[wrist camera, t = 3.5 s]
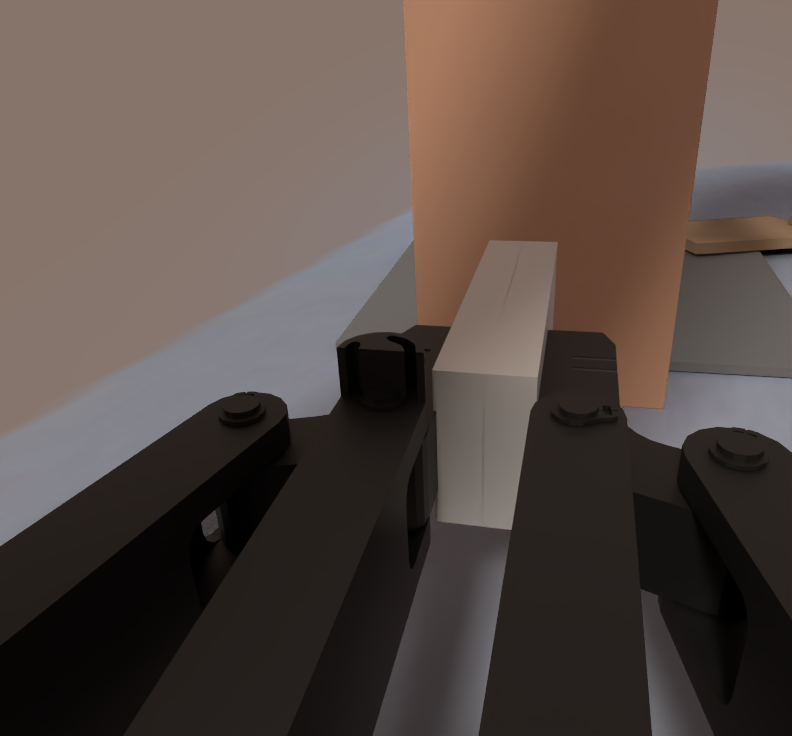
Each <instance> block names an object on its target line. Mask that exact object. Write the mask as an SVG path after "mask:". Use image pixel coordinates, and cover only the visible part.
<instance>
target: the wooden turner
mask: <svg viewBox="0 0 792 736" xmlns="http://www.w3.org/2000/svg"><path fill="white" fill-rule="evenodd" d="M788 248H792V216H791V218H790V219H789V221H787V220H784V219H780V218H777V217H773V216H762V217H746V218H729V219H713V220H696V221H689V223H688V230H687V237H686V245H685V249H686V250H688V251H690V252H692V253H694V254H711V253H726V252H742V251H757V250H773V249H788Z"/></svg>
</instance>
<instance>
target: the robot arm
mask: <svg viewBox="0 0 792 736" xmlns="http://www.w3.org/2000/svg"><path fill="white" fill-rule="evenodd" d="M557 245H558V242H540V241H496V240H489V243H488V245H487V247H486V250H485V252H484V254H483V256H482V259H481V261H480V263H479V265H478V268H477V270H476V272H475V274H474V277H473V279H472V281H471V283H470V286H469V288H468V290H467V292H466V295H465V297H464V299H463V301H462V304H461V306H460V308H459V310H458V313H457V315H456V317H455V320H454V322H453V324H452V326H451V327H448V326H429V325H415V326H413V327H411V328H410V329H408V330H406V331H405V332H403V333H395V332H373V333H368V334H363V335H358V336H355V337H353V338H350V339H348V340H345V341H344V342H343V343H341V344H340V345H339V346H338V347H337V357H338V367H339V378H340V389H341V397H340V399H339V400H338V402H337V404H336V405H335V407H334V408H333V410H332V411H331V413H330V414H329V415H323V416H316V417H306V418H296V419H289V417H288V410H287V405H286V404H285V402H284V401H283V400H282V399H281V398H279V397H277V396H274V395H271V394H267V393H258V392H247V393H245V392H241V393H236V394H234V395H232V396H228V397H225V398H222V399H220V400H218V401H216V402H214V403H212V404H210V405H208V406H207V407H205V408H204V409H202V410H201V411H199V412H198V413H196V414H195V415H193V416H192V417H190V418H189V419H187V420H186V421H184V422H183V423H181V424H180V425H179V426H177V427H176V428H174V429H173V430H171V431H170V432H168V433H167V434H165V435H164V436H162V437H161V438H159V439H158V440H156V441H155V442H153V443H152V444H150V445H149V446H148V447H146V448H145V449H143V450H142V451H140V452H139V453H137V454H136V455H134V456H133V457H131V458H130V459H128V460H127V461H125V462H124V463H122V464H121V465H120V466H118V467H117V468H115V469H114V470H112V471H111V472H109V473H108V474H106V475H105V476H103V477H102V478H100V479H99V480H97V481H96V482H94V483H93V484H92V485H90V486H89V487H87V488H86V489H84V490H83V491H81V492H80V493H78V494H77V495H75V496H74V497H72V498H71V499H69V500H68V501H66V502H65V503H64V504H62V505H61V506H59V507H58V508H56V509H55V510H53V511H52V512H50V513H49V514H47V515H46V516H44V517H43V518H41V519H40V520H38V521H37V522H36V523H34V524H33V525H31V526H30V527H28V528H27V529H25V530H24V531H22V532H21V533H19V534H18V535H16V536H15V537H13V538H12V539H10V540H9V541H8V542H6V543H5V544H3V545H2V546H0V736H372V735H373V732H374V728H375V725H376V722H377V718H378V715H379V712H380V708H381V705H382V702H383V698H384V695H385V692H386V688H387V685H388V682H389V678H390V675H391V672H392V668H393V665H394V662H395V658H396V655H397V652H398V648H399V645H400V641H401V638H402V635H403V631H404V628H405V625H406V621H407V618H408V615H409V611H410V608H411V605H412V601H413V598H414V595H415V591H416V588H417V585H418V581H419V578H420V575H421V571H422V568H423V565H424V561H425V558H426V555H427V551H428V548H429V545H430V513H431V510H432V507H433V503H434V500H435V497H436V521H440V522H448V523H456V524H465V525H473V526H481V527H490V528H498V529H506V530H511V536H510V542H509V548H508V555H507V561H506V567H505V574H504V580H503V586H502V592H501V599H500V605H499V611H498V617H497V624H496V630H495V636H494V643H493V649H492V655H491V661H490V668H489V674H488V680H487V687H486V693H485V699H484V705H483V712H482V718H481V724H480V731H479V736H652V730H651V717H650V705H649V692H648V679H647V667H646V654H645V641H644V629H643V616H642V604H641V591H640V589H643V590H645V591H648V592H651V593H653V594H656V595H658V601H659V607H660V612H661V614H662V617H663V619H664V621H665V623H666V626H667V628H668V630H669V633H670V635H671V637H672V639H673V642H674V644H675V646H676V649H677V651H678V653H679V655H680V658H681V660H682V662H683V665H684V667H685V669H686V672H687V674H688V676H689V678H690V681H691V683H692V685H693V688H694V690H695V692H696V694H697V697H698V699H699V701H700V704H701V706H702V708H703V710H704V713H705V715H706V717H707V720H708V722H709V724H710V726H711V729H712V731H713V733H714V736H792V452H790V451H789V450H788V449H787V448H785V447H784V446H783V445H781V444H780V443H779V442H777V441H775V440H773V439H771V438H768V437H766V436H764V435H762V434H760V433H758V432H754V431H751V430H745V429H742V428H736V427H732V428H724V427H715V428H708V429H701V430H698V431H696V432H694V433H692V434H690V435H689V436H687V438H686V440H685V441H684V443H683V445H682V449H679V448H675V447H671V446H667V445H664V444H661V443H658V442H655V441H652V440H649V439H647V438H645V437H643V436H641V435H639V434H637V433H636V432H635V431H633V430H632V429H631V428H629V427H628V426H627V418H626V415H625V413H624V411H623V409H622V408H620V399H619V385H618V372H617V361H616V360H617V357H616V345H615V344H614V343H613V342H612V341H611V340H610V339H609V338H608V337H607V336H606V335H605V334H604V333H601V332H582V331H563V330H553V316H554V299H555V281H556V263H557ZM214 510H216V515H217V520H218V525H219V528H218V529H216V530H215V531H214V532H213V533H212V534H211V535H209V536H207V537H205V536H204V534H203V531H202V526H201V522H202V521H203V520H204V519H205V518H206V517H207V516H208V515H209V514H211V513H212V512H213V511H214Z"/></svg>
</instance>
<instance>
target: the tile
mask: <svg viewBox="0 0 792 736" xmlns="http://www.w3.org/2000/svg"><path fill="white" fill-rule="evenodd" d="M717 7H718V0H404V23H405V46H406V69H407V92H408V115H409V138H410V158H411V159H410V160H411V182H412V183H411V184H412V207H413V230H414V253H415V276H416V299H417V322H418V325H429V326H448V327H451V326H452V324H453V322H454V320H455V317H456V315H457V313H458V310H459V308H460V306H461V304H462V301H463V299H464V297H465V295H466V292H467V290H468V288H469V286H470V283H471V281H472V279H473V277H474V274H475V272H476V270H477V268H478V265H479V263H480V261H481V259H482V256H483V254H484V252H485V250H486V247H487V245H488V243H489V240H496V241H540V242H558V245H557V263H556V281H555V299H554V316H553V330H563V331H582V332H601V333H604V334H605V335H606V336H607V337H608V338H609V339H610V340H611V341H612V342H613V343H614V344H615V345H616V357H617V360H616V361H617V372H618V385H619V399H620V406H627V407H641V408H656V409H664V401H665V394H666V386H667V379H668V371H669V364H670V357H671V349H672V342H673V334H674V327H675V319H676V312H677V304H678V297H679V290H680V282H681V275H682V267H683V260H684V252H685V245H686V237H687V230H688V223H689V215H690V208H691V200H692V193H693V185H694V178H695V170H696V163H697V156H698V148H699V141H700V133H701V126H702V118H703V111H704V103H705V96H706V89H707V81H708V74H709V66H710V58H711V51H712V44H713V36H714V29H715V22H716V14H717Z"/></svg>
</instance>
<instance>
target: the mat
mask: <svg viewBox="0 0 792 736" xmlns="http://www.w3.org/2000/svg"><path fill="white" fill-rule="evenodd" d="M415 325H418V322H417V299H416V276H415V253H414V241H413V242H412V243H411V245H410V246H409V247H408V248H407V250H406V251H405V252H404V254H403V255H402V256H401V258H400V259H399V260H398V262H397V263H396V264H395V266H394V267H393V268H392V270H391V271H390V272H389V273H388V275H387V276H386V277H385V279H384V280H383V281H382V283H381V284H380V285H379V287H378V288H377V289H376V291H375V292H374V293H373V294H372V296H371V297H370V298H369V300H368V301H367V302H366V304H365V305H364V306H363V308H362V309H361V310H360V312H359V313H358V314H357V316H356V317H355V318H354V319H353V321H352V322H351V323H350V325H349V326H348V327H347V329H346V330H345V331H344V333H343V334H342V335H341V337H340V338H339V339H338V340H337V342H336V350H337V347H338V346H339V345H340V344H341V343H343V342H344V341H345V340H348V339H350V338H353V337H355V336H358V335H363V334H368V333H373V332H395V333H403V332H405V331H406V330H408V329H410V328H411V327H413V326H415ZM669 371H686V372H703V373H720V374H737V375H754V376H771V377H788V378H792V298H791V297H790V295H789V294H788V292H787V291H786V289H785V288H784V286H783V285H782V283H781V282H780V281H779V279H778V278H777V276H776V275H775V273H774V272H773V270H772V269H771V267H770V266H769V264H768V263H767V261H766V260H765V259H764V257H763V256H762V254H761V253H760V251H759V250H757V251H742V252H726V253H711V254H694V253H692V252H690V251H688V250H686V249H685V252H684V260H683V267H682V275H681V282H680V290H679V297H678V304H677V312H676V319H675V327H674V334H673V342H672V349H671V357H670V364H669Z"/></svg>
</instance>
